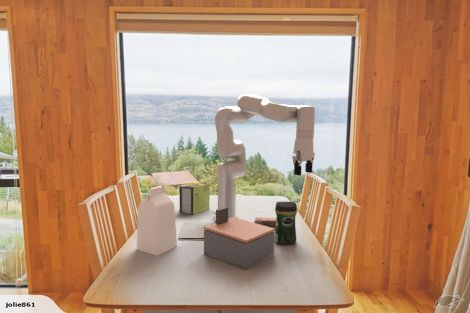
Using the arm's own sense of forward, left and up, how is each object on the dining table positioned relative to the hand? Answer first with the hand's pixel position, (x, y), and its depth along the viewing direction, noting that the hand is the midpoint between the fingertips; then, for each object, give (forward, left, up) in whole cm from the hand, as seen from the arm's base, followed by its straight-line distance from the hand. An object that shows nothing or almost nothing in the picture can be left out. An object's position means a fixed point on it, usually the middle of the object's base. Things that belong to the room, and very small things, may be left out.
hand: (303, 173), depth 154 cm
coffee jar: (-5, -5, -31) cm, 32 cm away
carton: (-11, -30, -31) cm, 45 cm away
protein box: (-71, +1, -32) cm, 78 cm away
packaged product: (-21, +8, -32) cm, 39 cm away
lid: (-11, -30, -21) cm, 38 cm away
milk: (-41, -48, -31) cm, 70 cm away
